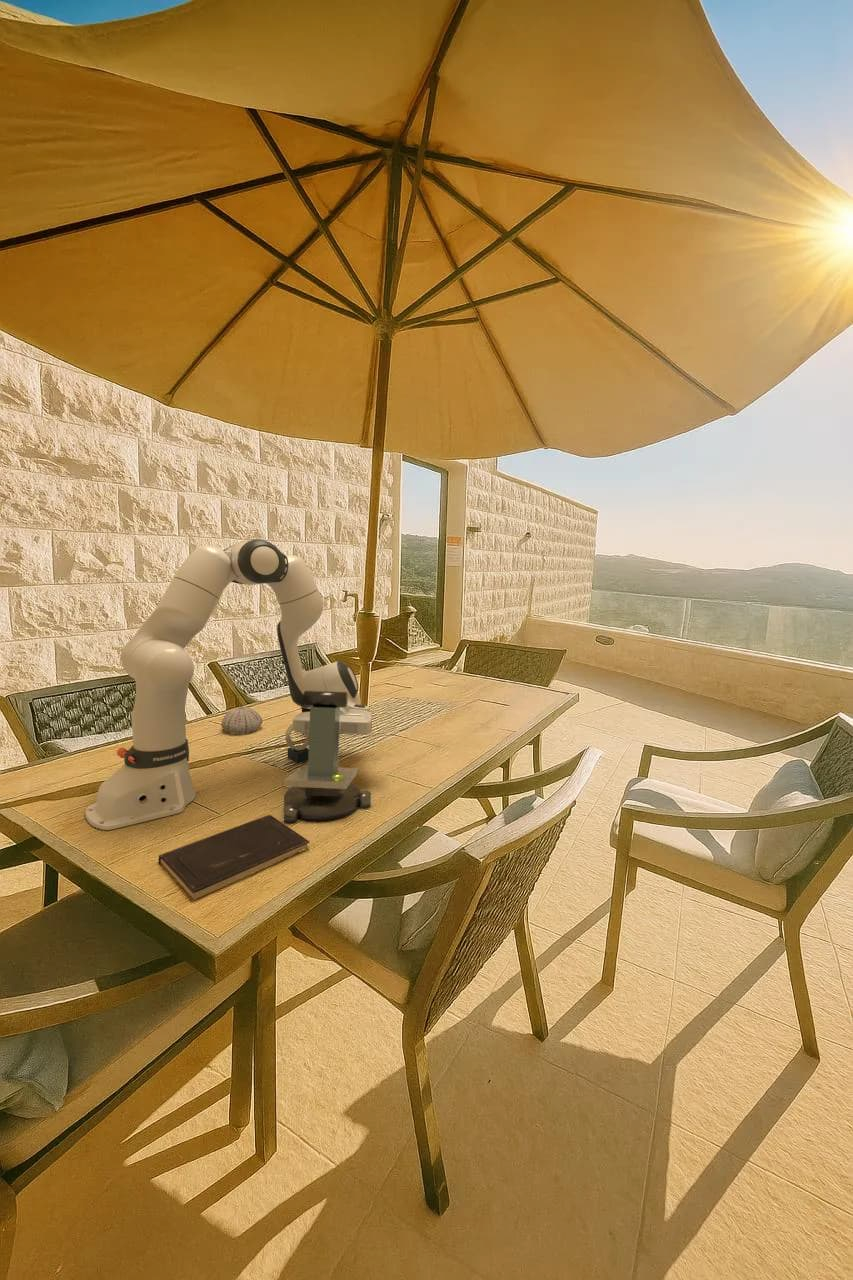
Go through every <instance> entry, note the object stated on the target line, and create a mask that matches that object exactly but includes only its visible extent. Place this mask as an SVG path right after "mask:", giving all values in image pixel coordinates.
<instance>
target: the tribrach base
mask: <svg viewBox="0 0 853 1280" xmlns="http://www.w3.org/2000/svg"><path fill="white" fill-rule="evenodd" d="M371 805H372V793H371V791H369V790H361V789H360V787H359V786H358V785H356V784H355V783H354V782H353V781H352V782H351V783H350V784H349V786H348V787H347V788H346V789H332V788H309V787H289V788H288V789H287V790H286V791H285V792H284V795H283V824H285V825H293V823H294V824H297V823H298V822H299V821H301V822H306V823H327V822H334V821H337V820H341V819H344V818H346V816H347V817H348V816H350V815H352V814H354V813H355V812H356V811H358V810H359V809H363V810H364V809H369V808H371ZM340 818H341V819H340ZM297 821H298V822H297Z"/></svg>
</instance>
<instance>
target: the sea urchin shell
mask: <svg viewBox="0 0 853 1280" xmlns="http://www.w3.org/2000/svg"><path fill="white" fill-rule="evenodd" d="M262 724H263V718H262V716H261V715H260V714H259V712H258V711H257V710H255V709H254V708H252V707H248V706H237V707H233V708H231V709H230V710H228V711H227V713H225V715H224V716H223V718H222V720H221V723H220V726H221V729H223V731H225V732H226V733H228V732H229V733H230V734H234V735H244V734H250V733H254V731H255V732H256V731H257V730H259V729H261V726H262ZM243 733H244V734H243Z"/></svg>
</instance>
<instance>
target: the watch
mask: <svg viewBox="0 0 853 1280" xmlns="http://www.w3.org/2000/svg"><path fill="white" fill-rule="evenodd" d="M285 731H286V732H285V735H284V736H285V739H284V740H285V742H286V743H287V745H288V747H287V759H289V760H290V761H291V762H293V761H294V762H293V763H295V764H298V763H299V764H302V763H305V762H308V753H309V733H306V732H301V733H302V735H304V737H306V738H305V740H304V742H303V743H302V744H298V745H295V744H294V742H293V740H292V737H291V734H292V732H293V731H294V730H293V723H292V724H291V725H289V726H288V727H287V729H286V730H285ZM307 747H308V748H307Z"/></svg>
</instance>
